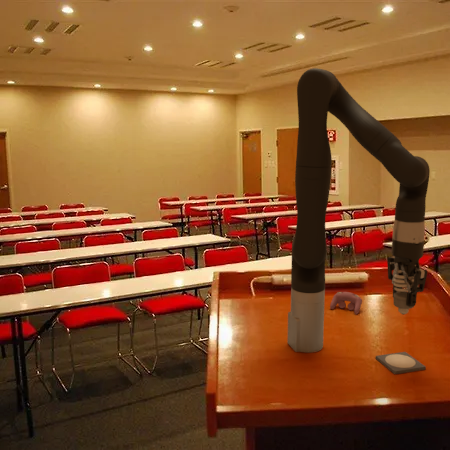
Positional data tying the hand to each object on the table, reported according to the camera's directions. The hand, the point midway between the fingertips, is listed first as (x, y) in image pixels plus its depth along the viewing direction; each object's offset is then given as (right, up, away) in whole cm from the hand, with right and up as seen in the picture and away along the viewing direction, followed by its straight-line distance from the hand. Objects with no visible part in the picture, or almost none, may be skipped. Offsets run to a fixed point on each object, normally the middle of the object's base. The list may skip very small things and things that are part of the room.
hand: (403, 301), depth 137 cm
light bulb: (0, -4, +1) cm, 4 cm away
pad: (0, -17, +4) cm, 17 cm away
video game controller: (-5, -9, +41) cm, 43 cm away
